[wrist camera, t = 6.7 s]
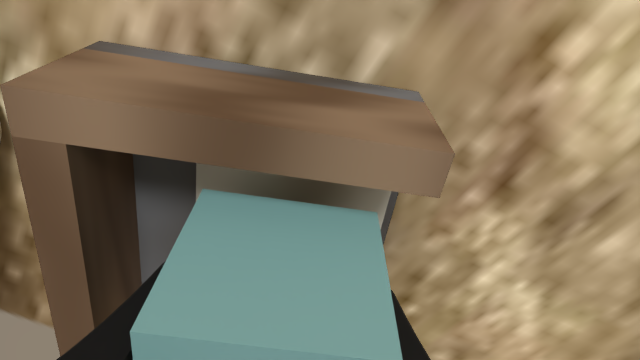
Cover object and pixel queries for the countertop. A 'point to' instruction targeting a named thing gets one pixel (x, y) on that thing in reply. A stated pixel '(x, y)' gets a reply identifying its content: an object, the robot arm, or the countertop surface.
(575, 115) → the countertop surface
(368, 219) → the teal block
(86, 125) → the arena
